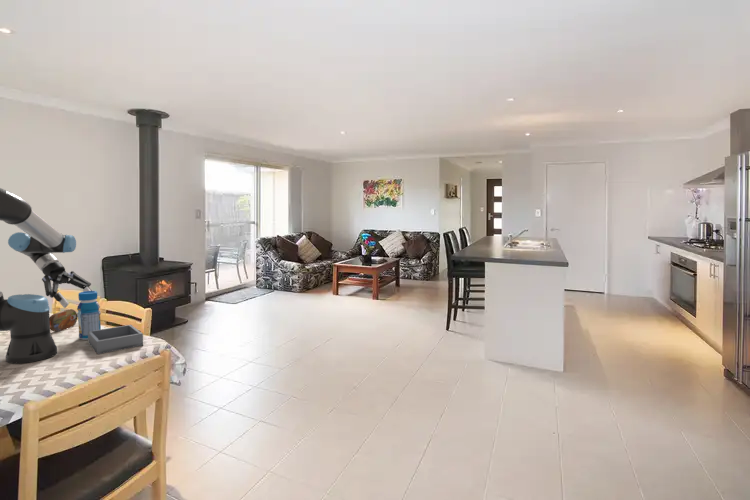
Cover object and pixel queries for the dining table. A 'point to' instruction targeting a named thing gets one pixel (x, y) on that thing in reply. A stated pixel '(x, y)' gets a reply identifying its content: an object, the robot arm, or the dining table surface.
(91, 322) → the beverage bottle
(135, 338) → the tray
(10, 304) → the robot arm
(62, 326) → the tin
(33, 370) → the dining table surface
